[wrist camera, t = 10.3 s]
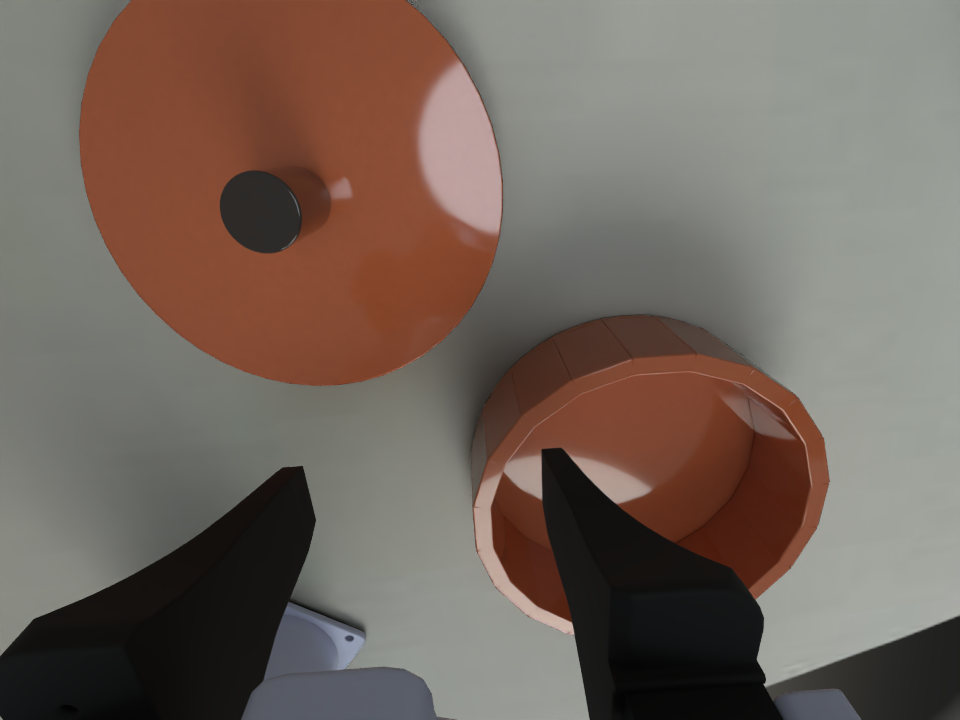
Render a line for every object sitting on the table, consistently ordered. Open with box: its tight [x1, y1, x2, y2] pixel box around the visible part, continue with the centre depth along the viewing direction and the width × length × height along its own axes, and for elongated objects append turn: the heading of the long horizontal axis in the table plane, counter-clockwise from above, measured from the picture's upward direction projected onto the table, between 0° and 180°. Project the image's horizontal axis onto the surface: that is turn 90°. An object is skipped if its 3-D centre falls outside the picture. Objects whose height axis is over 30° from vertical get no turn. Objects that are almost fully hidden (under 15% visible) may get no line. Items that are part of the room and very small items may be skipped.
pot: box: [471, 315, 830, 635], centre depth 24 cm, size 15×15×5 cm
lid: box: [79, 0, 503, 386], centre depth 18 cm, size 16×16×5 cm
